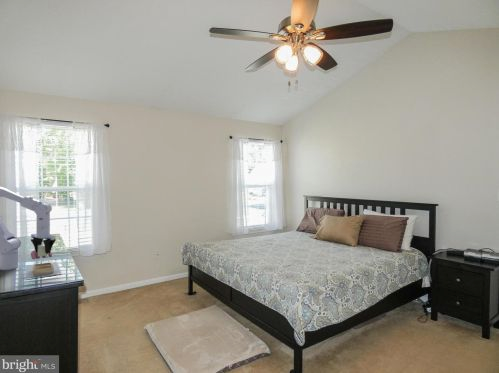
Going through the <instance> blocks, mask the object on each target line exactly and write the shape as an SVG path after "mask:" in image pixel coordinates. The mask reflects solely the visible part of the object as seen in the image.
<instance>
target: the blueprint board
mask: <svg viewBox="0 0 499 373" xmlns="http://www.w3.org/2000/svg"><path fill="white" fill-rule="evenodd" d="M24 273H25V274H24V279H25V281H30V280H31V281H32V280H36V279H37V280H38V279H45V278H50V277H58V276H62V271H61V269H60V266H59V262H58V261H54V262H52V261H51V262H44V263H43V262H42V263H36V264H30V265H25V272H24Z"/></svg>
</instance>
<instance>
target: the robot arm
mask: <svg viewBox="0 0 499 373" xmlns="http://www.w3.org/2000/svg"><path fill="white" fill-rule="evenodd" d="M0 197H1V198H2V197H3V198H6V199H8V200H11V201H14V202H17V203H19V204H20V207H23V208H24V209H27V210H30V211H32V212H34V213H35V215H36V233H32V234H30V238H31V239H30V242H31V243H32V245H33V247H34V250H35V251H36V252H38V245H45V252H46V254H47V253H50V252H51V253H52V248H53V245H54V244H55V243H56V241H57V239H56V235H54V234H51V218H50V217H51V216H50V214H51V212H52V209H53V208H52V205H51V204H50V203H48V202H43V200H38V199H35V198H34V197H33V196H32V195H31V196H28V195H27V196H22V195H20V194H18V193H16V192H13V191H12V190H10V189H8V188H5V187H4V186H3V187H2V186H0ZM21 245H22V242H21V240H20V239H19V238H18V237H17V236H16V235H15V234H14V233H12V232H10V231H9V229H8V227H7V226H6V223H5V222H4V221H3V219H2V218H1V216H0V270H1V271H8V270H10V271H11V270H13V269H17V268H19V248H20V247H21Z"/></svg>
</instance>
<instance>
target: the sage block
mask: <svg viewBox="0 0 499 373" xmlns="http://www.w3.org/2000/svg"><path fill="white" fill-rule="evenodd" d="M46 255H47V256H48V255H49V253H47V254H46V252H45V245H44V244H42V245H38V256H40V257H42V256H46ZM47 256H46V257H47Z"/></svg>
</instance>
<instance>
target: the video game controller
mask: <svg viewBox="0 0 499 373" xmlns="http://www.w3.org/2000/svg"><path fill="white" fill-rule="evenodd" d="M47 256H48V257H49V258H52V257H53V255H52V251H51V252H50V253H49V255H46V256H38V252H36V251H35V249H34V250H32V251H31V252H30V257H31V259H32V260H35V259H40V258H41V257H42V258H43V259H44V258H47Z"/></svg>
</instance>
